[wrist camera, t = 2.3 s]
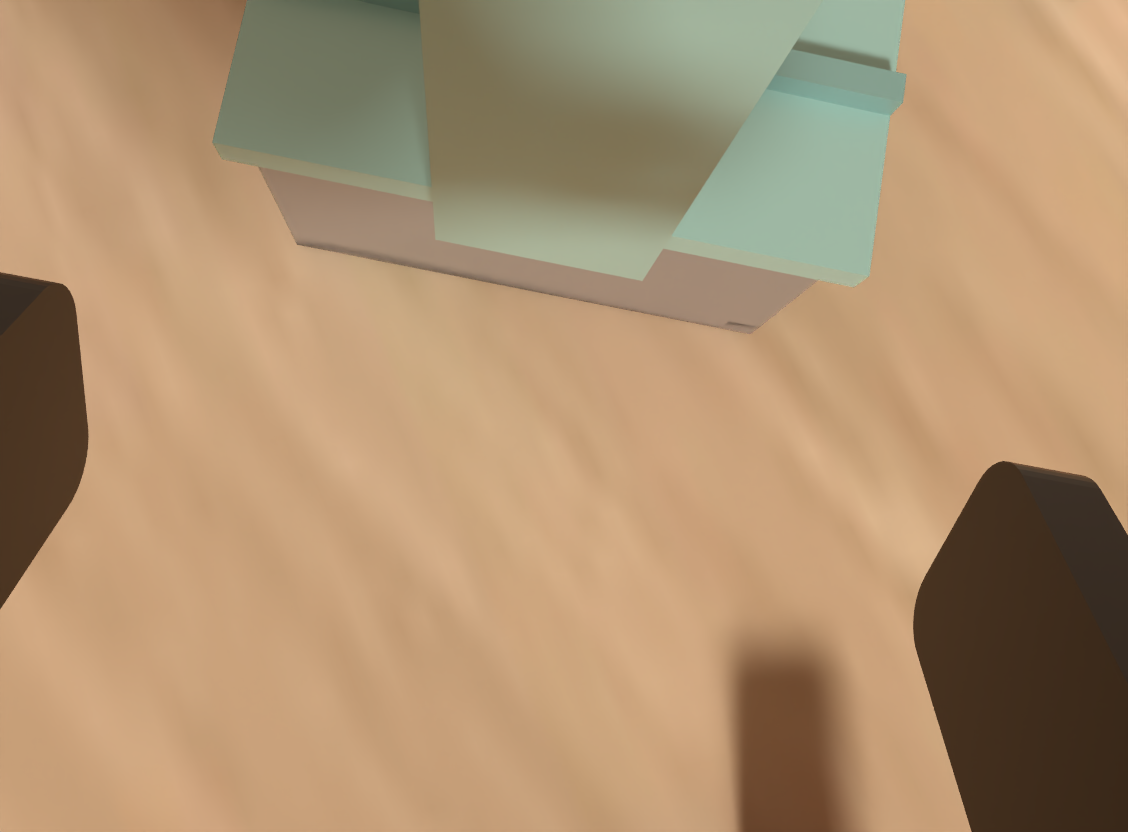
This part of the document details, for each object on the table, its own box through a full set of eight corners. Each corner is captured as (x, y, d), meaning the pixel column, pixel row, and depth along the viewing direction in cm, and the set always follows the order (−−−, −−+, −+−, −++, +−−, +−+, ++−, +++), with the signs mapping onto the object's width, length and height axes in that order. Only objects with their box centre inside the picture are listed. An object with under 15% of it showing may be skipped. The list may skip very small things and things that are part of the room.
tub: (805, -41, 29) (895, -197, 23) (750, 334, 27) (832, 268, 21) (383, -137, 28) (363, -325, 22) (296, 244, 26) (250, 150, 20)
